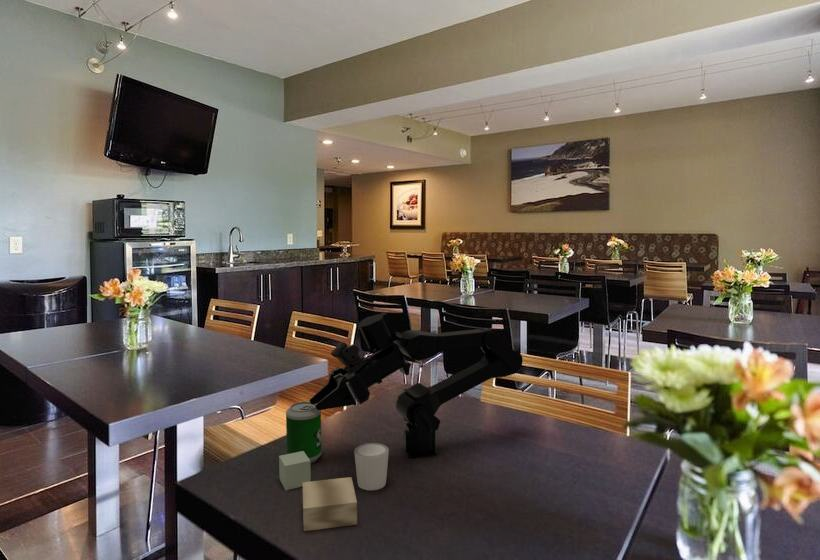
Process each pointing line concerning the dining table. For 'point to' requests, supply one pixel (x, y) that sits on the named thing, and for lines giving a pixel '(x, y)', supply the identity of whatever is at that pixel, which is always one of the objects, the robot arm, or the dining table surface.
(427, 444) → the robot arm
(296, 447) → the soda can
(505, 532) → the dining table surface
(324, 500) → the maple block
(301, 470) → the sage cube
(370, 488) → the shot glass
